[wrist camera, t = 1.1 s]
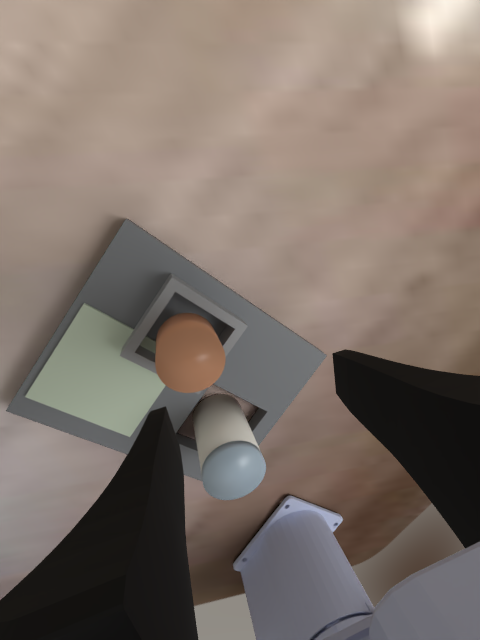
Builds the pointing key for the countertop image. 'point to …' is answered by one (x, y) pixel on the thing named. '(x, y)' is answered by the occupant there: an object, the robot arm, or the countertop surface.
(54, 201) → the countertop surface
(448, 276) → the countertop surface
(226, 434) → the cartridge
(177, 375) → the orange round piece
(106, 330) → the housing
